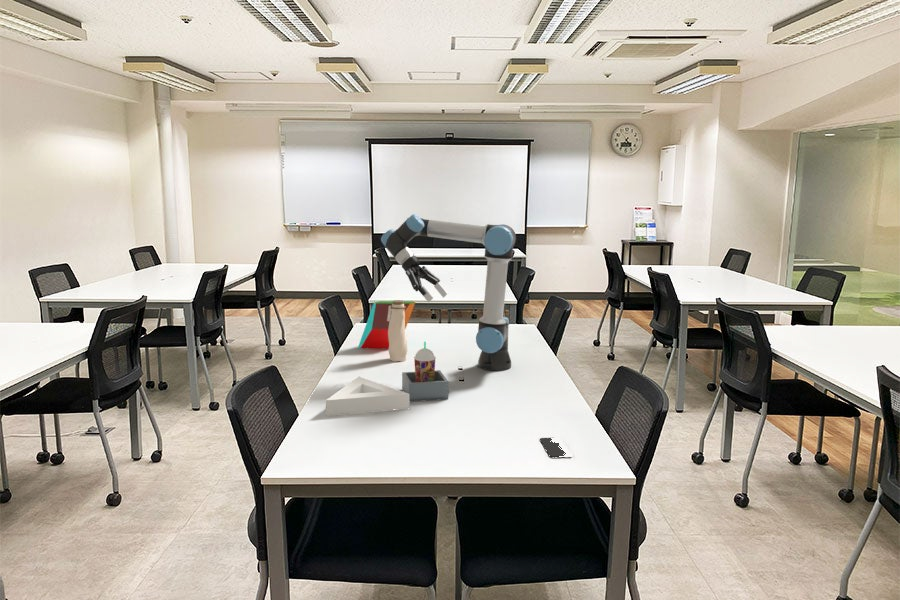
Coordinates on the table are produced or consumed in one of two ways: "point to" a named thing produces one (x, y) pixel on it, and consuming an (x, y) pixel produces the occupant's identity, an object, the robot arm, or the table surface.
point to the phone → (552, 447)
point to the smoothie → (424, 365)
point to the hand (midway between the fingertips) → (438, 297)
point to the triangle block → (366, 398)
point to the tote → (425, 387)
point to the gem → (381, 324)
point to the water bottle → (397, 331)
